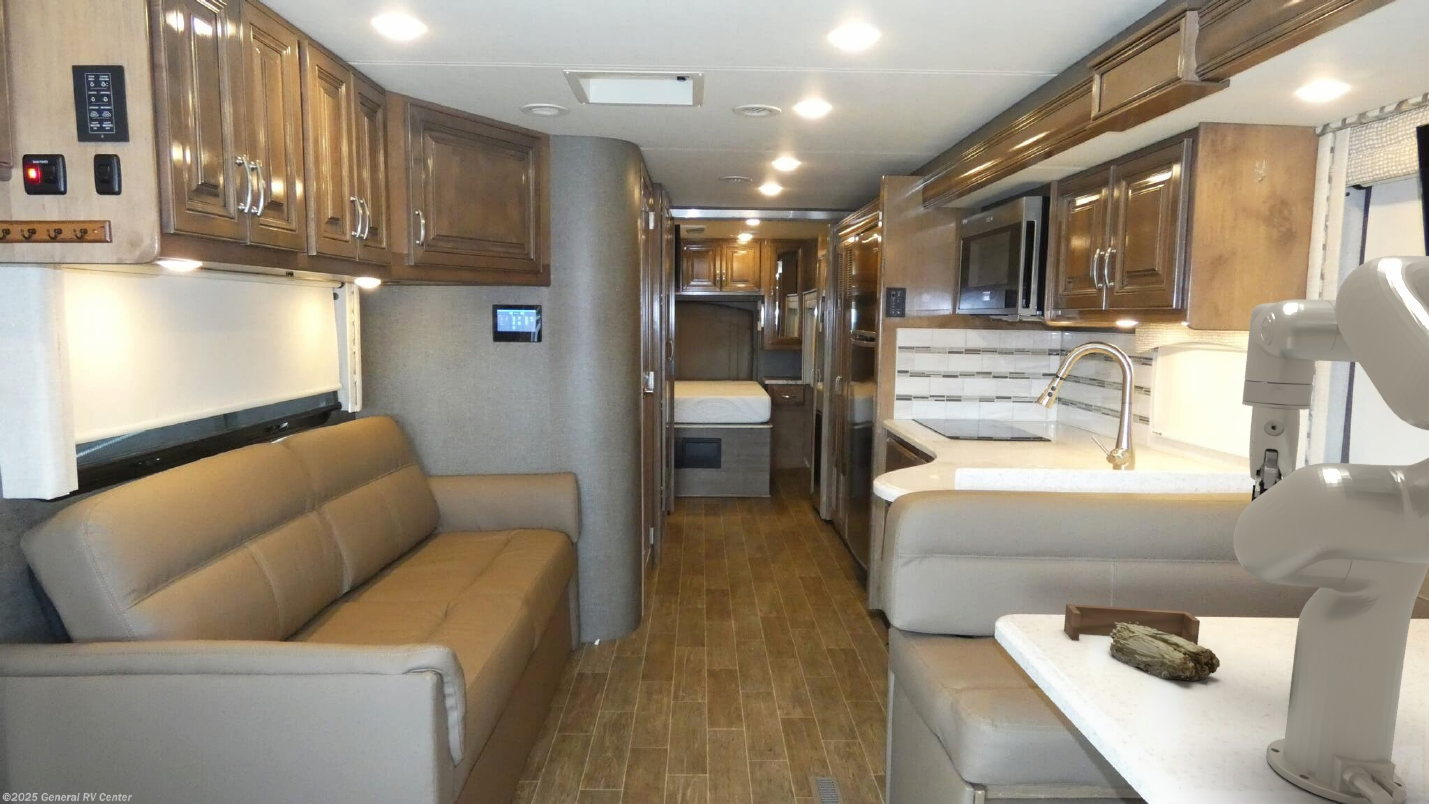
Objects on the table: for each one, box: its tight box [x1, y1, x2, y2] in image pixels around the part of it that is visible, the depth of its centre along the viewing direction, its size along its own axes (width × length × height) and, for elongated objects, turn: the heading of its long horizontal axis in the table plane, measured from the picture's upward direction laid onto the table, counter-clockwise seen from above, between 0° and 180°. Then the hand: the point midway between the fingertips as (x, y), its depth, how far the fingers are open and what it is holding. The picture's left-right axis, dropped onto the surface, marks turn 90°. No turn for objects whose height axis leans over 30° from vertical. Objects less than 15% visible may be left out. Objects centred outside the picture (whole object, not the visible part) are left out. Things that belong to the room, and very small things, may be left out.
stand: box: [1063, 603, 1201, 646], centre depth 130 cm, size 4×19×4 cm, turn 84°
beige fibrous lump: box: [1109, 622, 1221, 682], centre depth 121 cm, size 14×10×5 cm, turn 30°
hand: (1263, 521), depth 110 cm, fingers open, 9 cm apart
